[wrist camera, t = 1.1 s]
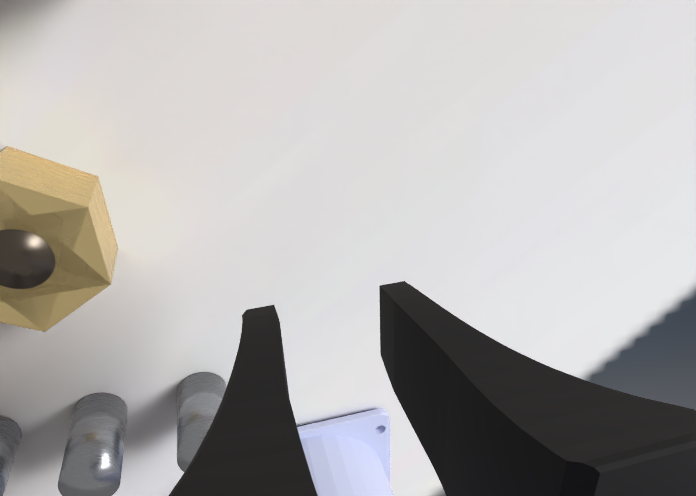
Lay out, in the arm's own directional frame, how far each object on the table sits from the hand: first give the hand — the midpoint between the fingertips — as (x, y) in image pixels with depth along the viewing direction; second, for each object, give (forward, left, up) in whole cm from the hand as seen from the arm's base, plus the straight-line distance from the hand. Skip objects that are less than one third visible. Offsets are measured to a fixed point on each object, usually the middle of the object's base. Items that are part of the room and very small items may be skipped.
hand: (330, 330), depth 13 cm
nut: (0, +8, -8) cm, 12 cm away
